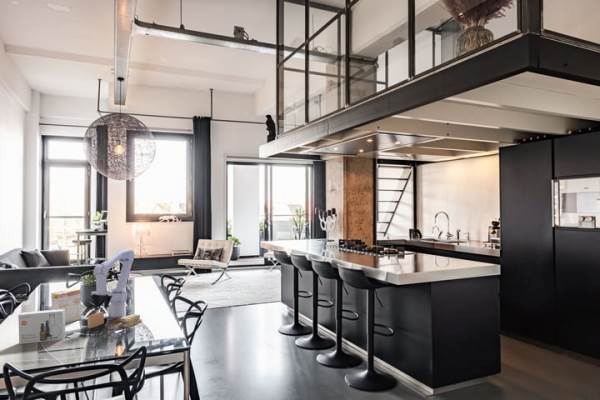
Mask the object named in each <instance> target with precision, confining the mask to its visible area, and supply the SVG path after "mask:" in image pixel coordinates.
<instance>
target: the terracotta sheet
mask: <svg viewBox="0 0 600 400" xmlns="http://www.w3.org/2000/svg"><path fill="white" fill-rule="evenodd" d="M104 323H105V315H104V311H99V312H97V313H94V314H90V315H87V328H88V329H92V328H95V327H98V326H101V325H103V324H104ZM104 325H105V324H104Z"/></svg>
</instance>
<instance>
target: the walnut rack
mask: <svg viewBox="0 0 600 400" xmlns="http://www.w3.org/2000/svg"><path fill="white" fill-rule="evenodd" d="M120 318H121V317H118V318H117V319H114V320H111V321H109V322H107V323H106V324H105V326H106V327H107V326H109V327H121V328H124V327H123V326H119V323H121V321H120ZM142 323H143V321H142V322H140V323H137V324H135V325H132V326H130V327H129V328H131V327H133V326H137V325H139V324H142Z"/></svg>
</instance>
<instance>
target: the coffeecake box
mask: <svg viewBox="0 0 600 400" xmlns="http://www.w3.org/2000/svg"><path fill="white" fill-rule="evenodd" d="M50 294H51V295H50V296H51V310H58V309H65V325H66V324H69V323H73V322H77V321H80V320H82V309H81V308H82V307H81V306H82V304H81V289H79V288H72V289H70V288H69V289H65V290H60V291H56V292H55V291H54V292H52V293H50Z"/></svg>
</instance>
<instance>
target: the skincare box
mask: <svg viewBox="0 0 600 400" xmlns="http://www.w3.org/2000/svg"><path fill="white" fill-rule="evenodd" d="M65 338H66V324H65V309H58V310H52V309H47V310H39V311H38V310H36V311H35V310H34V311H24V312H20V313H18V344H19V345H24V344H34V343H44V342H53V341H63V340H64V339H65Z"/></svg>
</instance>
